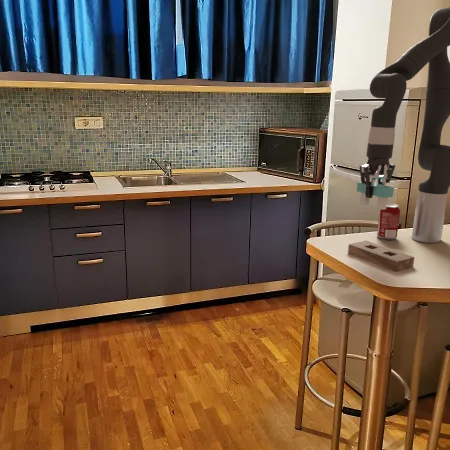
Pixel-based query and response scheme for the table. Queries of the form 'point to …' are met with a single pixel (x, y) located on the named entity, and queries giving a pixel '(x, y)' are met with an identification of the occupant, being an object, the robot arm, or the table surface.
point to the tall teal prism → (376, 194)
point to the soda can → (388, 222)
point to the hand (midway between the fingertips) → (373, 196)
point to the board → (381, 255)
